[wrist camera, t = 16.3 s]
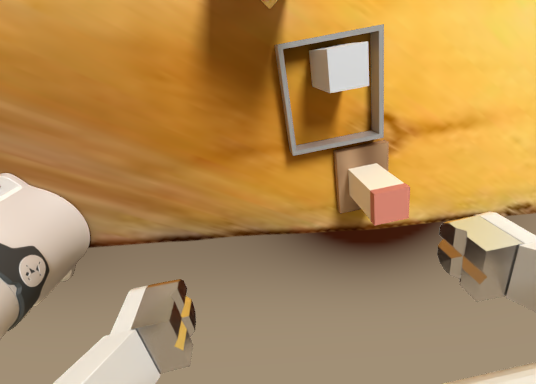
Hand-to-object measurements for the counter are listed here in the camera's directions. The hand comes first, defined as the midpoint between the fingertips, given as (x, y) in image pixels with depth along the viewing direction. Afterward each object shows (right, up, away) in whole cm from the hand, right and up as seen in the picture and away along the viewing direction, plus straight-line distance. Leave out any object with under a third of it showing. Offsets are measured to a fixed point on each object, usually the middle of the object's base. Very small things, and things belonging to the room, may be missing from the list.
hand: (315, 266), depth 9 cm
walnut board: (+13, +5, +37) cm, 40 cm away
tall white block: (+6, +19, +30) cm, 36 cm away
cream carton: (+13, +4, +36) cm, 39 cm away
